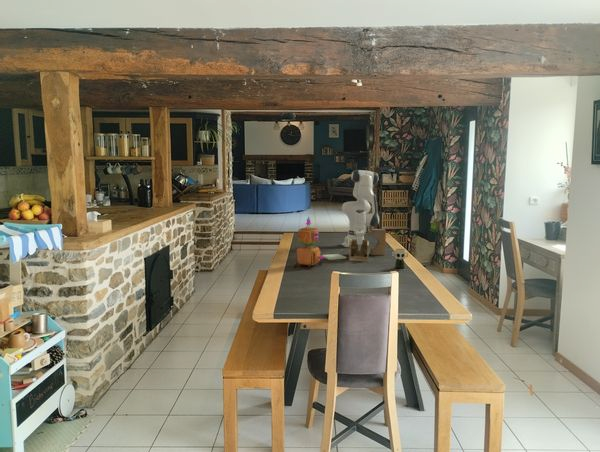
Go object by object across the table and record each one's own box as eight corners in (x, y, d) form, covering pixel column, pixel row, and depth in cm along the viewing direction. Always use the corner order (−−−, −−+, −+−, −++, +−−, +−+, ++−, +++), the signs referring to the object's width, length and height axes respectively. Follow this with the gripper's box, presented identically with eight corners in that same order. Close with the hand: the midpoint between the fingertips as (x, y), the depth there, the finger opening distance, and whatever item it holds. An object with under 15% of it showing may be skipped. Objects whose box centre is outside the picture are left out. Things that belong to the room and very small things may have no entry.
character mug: (392, 268, 339) (392, 250, 337) (391, 266, 346) (391, 248, 344) (408, 269, 338) (409, 250, 336) (407, 267, 345) (407, 248, 343)
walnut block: (356, 254, 380) (356, 242, 378) (362, 254, 379) (362, 243, 378) (356, 255, 375) (356, 243, 374) (361, 255, 375) (362, 243, 373)
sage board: (322, 256, 381) (322, 255, 381) (338, 255, 386) (338, 253, 385) (329, 259, 368) (329, 258, 368) (346, 258, 373) (346, 257, 372)
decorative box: (330, 265, 350) (330, 215, 345) (316, 270, 331) (317, 218, 327) (306, 262, 359) (306, 214, 354) (292, 267, 340) (292, 217, 335)
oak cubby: (350, 254, 391) (350, 239, 390) (368, 254, 389) (368, 239, 388) (348, 260, 365) (349, 244, 364) (368, 261, 363) (368, 245, 362)
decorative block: (371, 255, 388) (371, 229, 385) (370, 253, 394) (370, 228, 391) (385, 255, 388) (386, 229, 385) (384, 253, 393) (384, 228, 391)
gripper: (355, 229, 385) (355, 247, 387) (355, 233, 365) (355, 251, 367) (364, 229, 384) (363, 247, 386) (364, 233, 364) (363, 251, 366)
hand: (359, 249), depth 376 cm, fingers open, 8 cm apart
